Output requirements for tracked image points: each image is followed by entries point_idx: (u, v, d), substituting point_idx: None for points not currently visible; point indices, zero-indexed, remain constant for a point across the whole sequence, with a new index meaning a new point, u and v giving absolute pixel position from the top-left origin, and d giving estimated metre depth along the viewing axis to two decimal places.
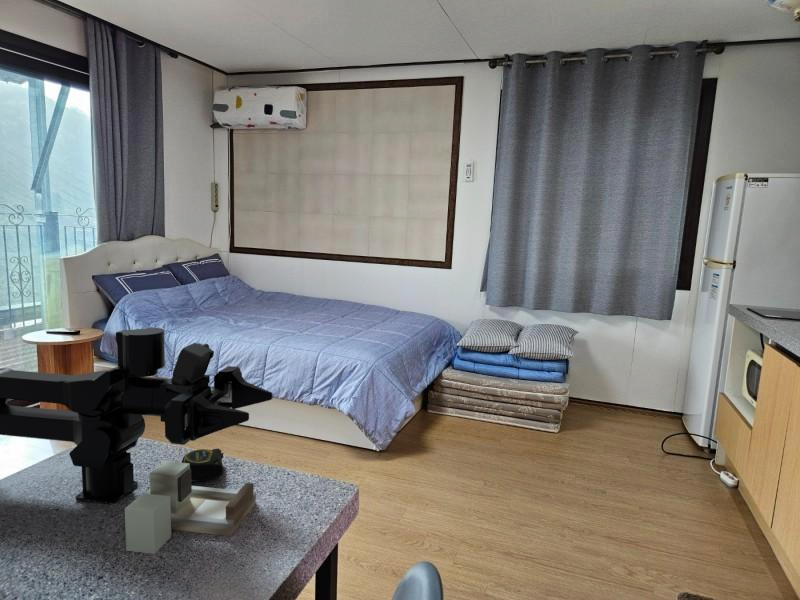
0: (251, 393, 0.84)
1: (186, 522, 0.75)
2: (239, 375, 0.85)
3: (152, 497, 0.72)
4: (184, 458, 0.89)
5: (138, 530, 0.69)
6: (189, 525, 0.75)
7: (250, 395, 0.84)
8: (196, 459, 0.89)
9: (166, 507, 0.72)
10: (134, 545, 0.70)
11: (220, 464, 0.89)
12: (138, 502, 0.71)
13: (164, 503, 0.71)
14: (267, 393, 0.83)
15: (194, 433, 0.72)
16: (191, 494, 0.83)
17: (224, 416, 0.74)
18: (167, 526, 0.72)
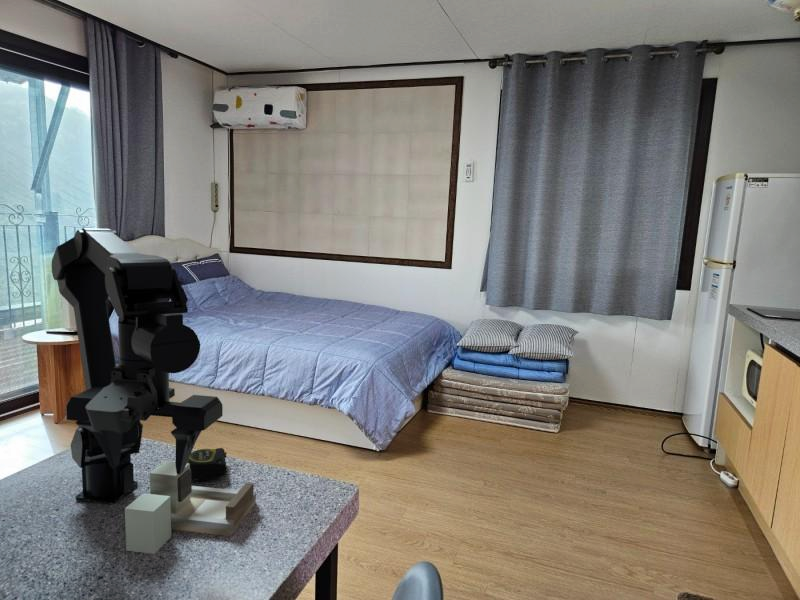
0: None
1: (186, 522, 0.75)
2: (182, 436, 0.66)
3: (152, 497, 0.72)
4: None
5: (138, 530, 0.69)
6: (189, 525, 0.75)
7: None
8: (200, 458, 0.90)
9: (166, 507, 0.72)
10: (134, 545, 0.70)
11: (223, 463, 0.89)
12: (138, 502, 0.71)
13: (164, 503, 0.71)
14: None
15: None
16: (191, 494, 0.83)
17: None
18: (167, 526, 0.72)
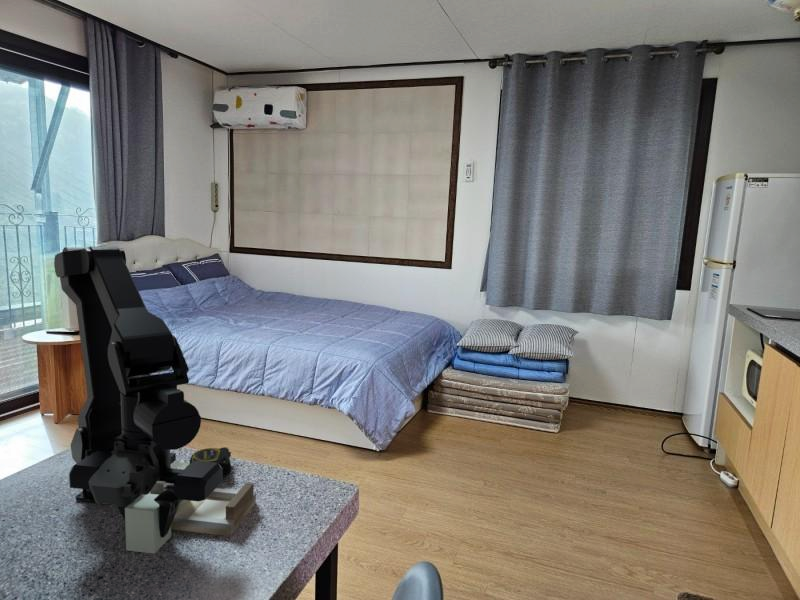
0: None
1: (186, 522, 0.75)
2: (165, 503, 0.68)
3: (152, 497, 0.72)
4: (192, 457, 0.90)
5: (138, 530, 0.69)
6: (189, 525, 0.75)
7: None
8: (204, 457, 0.90)
9: None
10: (134, 545, 0.70)
11: (228, 463, 0.90)
12: (138, 502, 0.71)
13: None
14: None
15: None
16: None
17: None
18: None
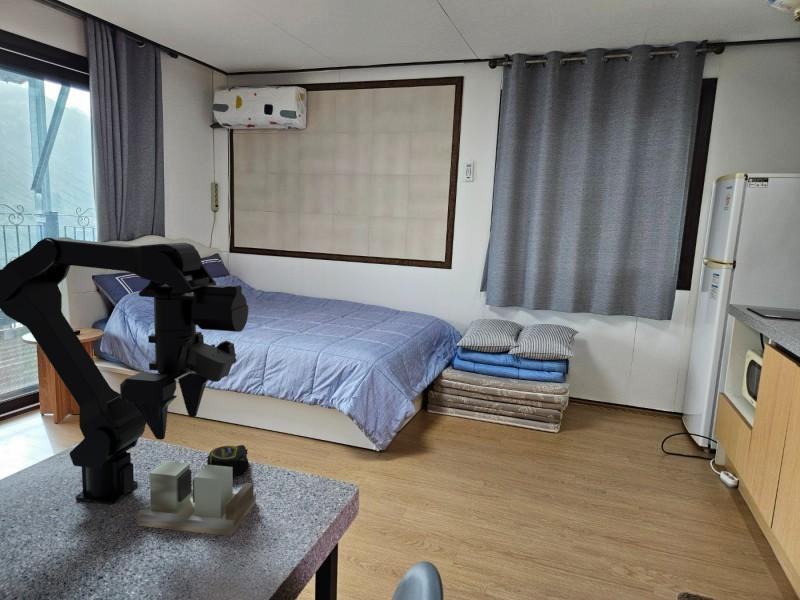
0: (192, 395, 0.85)
1: (186, 522, 0.75)
2: None
3: (205, 471, 0.78)
4: (210, 454, 0.91)
5: (226, 492, 0.78)
6: (189, 525, 0.75)
7: (191, 394, 0.85)
8: (223, 455, 0.91)
9: None
10: (224, 508, 0.78)
11: (246, 460, 0.91)
12: (212, 475, 0.77)
13: None
14: (194, 412, 0.85)
15: None
16: (191, 494, 0.83)
17: (156, 421, 0.75)
18: None
